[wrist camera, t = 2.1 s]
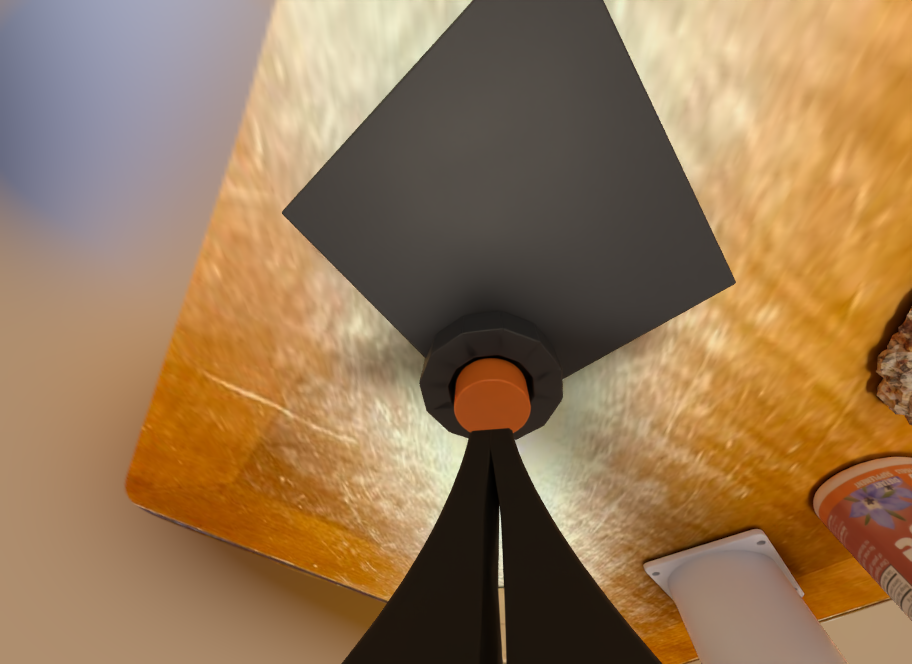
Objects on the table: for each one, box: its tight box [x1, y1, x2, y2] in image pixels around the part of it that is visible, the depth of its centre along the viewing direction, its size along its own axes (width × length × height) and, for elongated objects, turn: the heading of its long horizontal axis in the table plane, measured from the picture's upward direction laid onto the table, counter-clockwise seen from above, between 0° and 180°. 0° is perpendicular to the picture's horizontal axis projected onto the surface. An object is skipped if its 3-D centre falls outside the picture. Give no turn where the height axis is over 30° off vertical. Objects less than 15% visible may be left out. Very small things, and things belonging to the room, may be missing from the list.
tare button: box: [454, 358, 531, 433], centre depth 14 cm, size 3×3×2 cm
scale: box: [282, 0, 736, 440], centre depth 13 cm, size 14×13×3 cm
